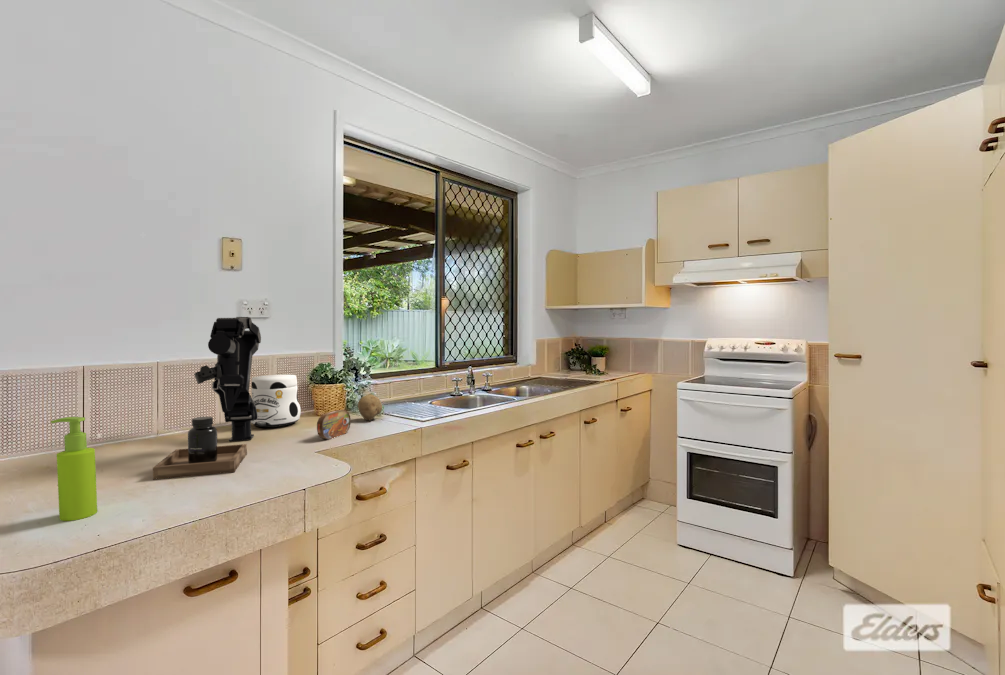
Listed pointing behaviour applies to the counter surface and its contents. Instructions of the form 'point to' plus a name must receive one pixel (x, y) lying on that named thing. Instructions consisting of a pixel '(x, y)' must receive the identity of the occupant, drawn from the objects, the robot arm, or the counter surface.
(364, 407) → the brown potato
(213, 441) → the supplement bottle
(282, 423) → the milk container
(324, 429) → the tin
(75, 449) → the soap dispenser
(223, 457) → the walnut tray
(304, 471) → the counter surface
